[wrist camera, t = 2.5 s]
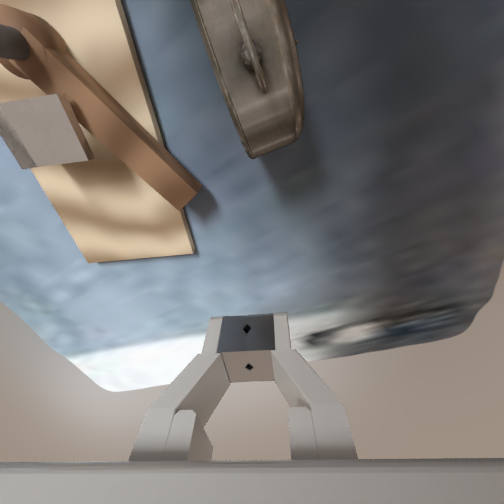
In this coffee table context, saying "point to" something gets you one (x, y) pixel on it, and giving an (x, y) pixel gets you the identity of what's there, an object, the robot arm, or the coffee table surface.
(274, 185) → the coffee table surface
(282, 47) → the alarm clock
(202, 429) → the robot arm
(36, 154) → the keeper
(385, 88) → the coffee table surface
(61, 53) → the link
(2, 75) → the base board
